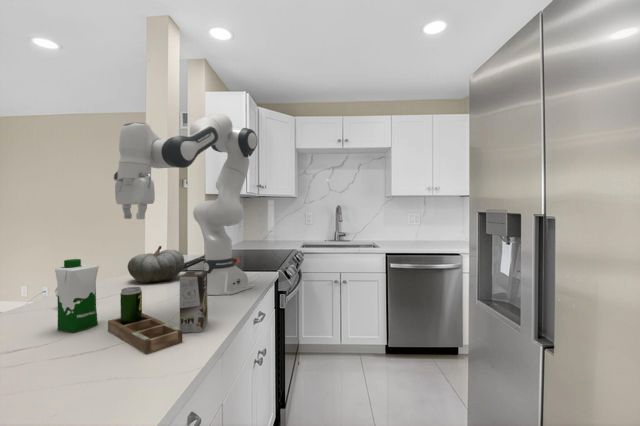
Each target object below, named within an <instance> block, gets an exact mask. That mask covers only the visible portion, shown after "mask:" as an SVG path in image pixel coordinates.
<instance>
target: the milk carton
mask: <svg viewBox="0 0 640 426" xmlns="http://www.w3.org/2000/svg"><path fill="white" fill-rule="evenodd" d="M99 267H100V266H99V265H98V266H97V265H93V264H82V260H81V259H80V258H73V259H72V258H71V259H66V260H63V266H61V267H59V268H55V269H54V271H55V277H56V282H57V283H56V284H57V286H56V288H57V289H58V297H57V330H58V331H63V332H66V333H67V332H68V333H73V334H75V333H77V332H79V331H80V332H81V331H84V330H86V329H89V328H92V327H95V326H98V325H99V322H98V313H97V277H98V272H99Z"/></svg>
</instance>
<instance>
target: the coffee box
mask: <svg viewBox="0 0 640 426" xmlns="http://www.w3.org/2000/svg"><path fill="white" fill-rule="evenodd" d="M208 308H209V307H208V295H207V271H204V270H194V271H185V273H182V274H181V276H179V329H180V330H182V334H186V333H202V332H203V330H204V329H205V327H206V325H207V324H208V315H209V314H208Z"/></svg>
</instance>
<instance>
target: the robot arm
mask: <svg viewBox="0 0 640 426" xmlns="http://www.w3.org/2000/svg"><path fill="white" fill-rule="evenodd" d="M257 145H258V136H257V133H256V132H255V131H254V130H253V129H251V128H249V127H233V122H232V121H231V119H230V117H229V116H227V115H226V114H225V113H214V114H212V113H211V114H209V115H206V116H203V117H200V118H198V119H197V120H194V122H193V123H192V124H191V125H190V127H189V136H186V135H177V136H173V137H165V138H162V137H160V136H159V135H158V134H156V133H155V132H154V131H153V130H152V128H151V126H150V125H149V124H148V123H145V122H129V123H125V124H123V125H122V127H121V130H120V132H119V142H118V151H119V154H120V156H119V161H118V168H117V171H116V172H115V173H113V174H114V175H113V181H114V182H115V185H114V196H115V197H114V198H115V202H116V204H117V205H121V209H122V211H123V219H125V220H131V219H132V213H131V208H132V205H137V208H138V210H137V213H136V219H137V220H145V219H146V218H145V217H146V211H147V209H148V205H153V204H154V202H155V201H156V200H155V196H156V195H155V193H156V192H155V184H154V180H153V179H152V168H153V169H169V168H170V169H171V168H179V169H181V168H183V169H184V168H188V167H190V166H191V165H192V164H193V163H194V161H195V160H196V159H197V157H198V156H199V155H200V154H201V153H203V152H204V151H206V150H207V149H209V148H210V147H211V149H212V150H213V151H215V152H217V153H225V154H227V158H226V159H225V161H224V163H223V166H222V168H221V170H220V172H219V175H218V177H217V180H216V182H215V188H216V189H217V191H218V193H217V198H216V199H215V200H209V199H208V200H204V201H201V202H199V203H197V204H196V205H195V206H194V208H193V211H192V212H193V213H192V214H193V219H194V220H195V222H197V224H198V225H199V228H200V230H201V233H202V237H203V243H204V258H203V271H207V296H208V295H209V296H221V295H223V296H224V295H225V296H226V295H228V296H229V295H235V294H237V293H241V292H243V291H244V292H245V291H246V290H250V289H252V288H254V284H253V283H251V282H249V280H248V275H247V273H246V272H245V271H243V269H240V268H239V267H238V266H237V265H236V263H237V264H239V263H240V262H241V261H240V260H241V259H240V258H238V257H235V258H234V257H232V255H233V254H232V250H233V249H232V245H233V244H232V239H231V237H230V236H229V235H228V234H227V231H226V229H225V227H231V226H236V225H239V224H240V223H241V222H242V220H243V219H244V217H245V210H244V207H243V206H242V203H241V201H240V200H241V199H240V198H241V192H242V189H243V187H244V183H245V180H246V178H247V175H248V172H249V168H250V158H249V157H252V155H253V154H254V151H255V150H256V148H257Z"/></svg>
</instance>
